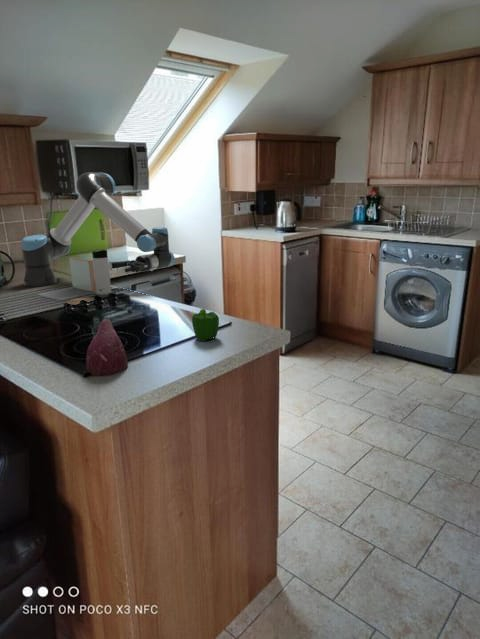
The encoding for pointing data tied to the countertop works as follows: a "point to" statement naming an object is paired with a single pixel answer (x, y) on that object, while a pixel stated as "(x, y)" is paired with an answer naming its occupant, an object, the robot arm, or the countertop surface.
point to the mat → (65, 293)
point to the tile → (82, 274)
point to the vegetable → (106, 352)
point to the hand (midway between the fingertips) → (108, 269)
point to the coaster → (77, 300)
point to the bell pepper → (205, 324)
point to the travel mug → (101, 272)
